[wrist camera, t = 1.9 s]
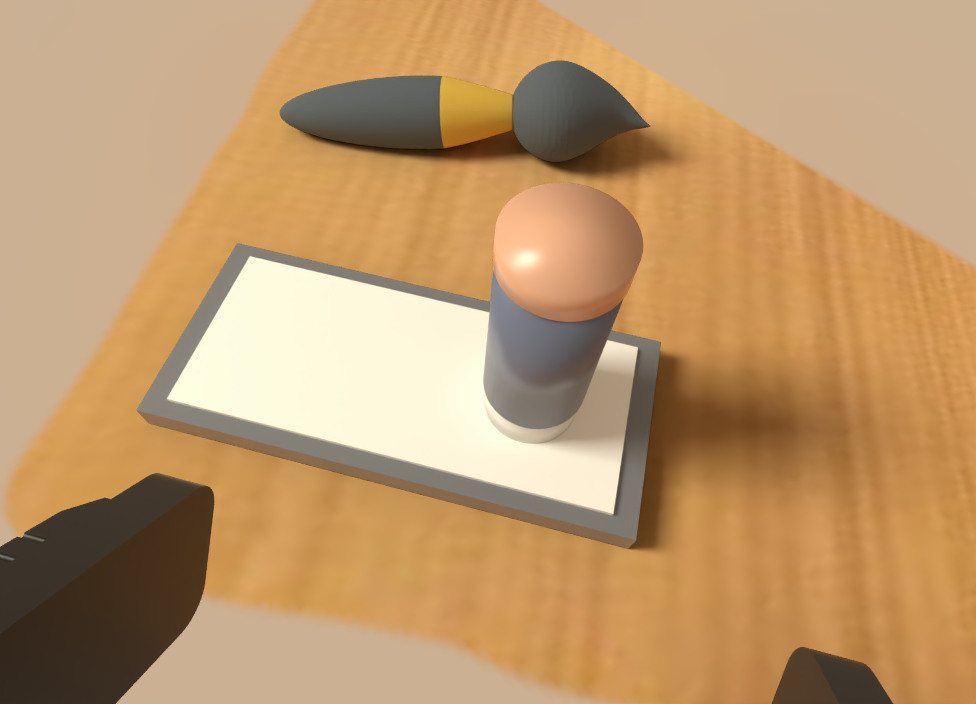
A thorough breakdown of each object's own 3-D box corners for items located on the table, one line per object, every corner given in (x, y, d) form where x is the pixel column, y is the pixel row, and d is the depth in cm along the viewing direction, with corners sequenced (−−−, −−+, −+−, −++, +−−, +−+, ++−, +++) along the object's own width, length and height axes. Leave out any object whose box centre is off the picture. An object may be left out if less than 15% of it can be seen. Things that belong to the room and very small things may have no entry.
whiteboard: (653, 356, 29) (662, 339, 28) (628, 548, 25) (637, 538, 23) (244, 259, 31) (236, 240, 30) (148, 423, 26) (134, 408, 25)
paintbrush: (276, 179, 34) (252, 98, 30) (287, 117, 37) (266, 35, 32) (640, 181, 36) (666, 104, 31) (625, 121, 38) (648, 43, 34)
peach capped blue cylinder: (587, 370, 27) (651, 199, 19) (570, 458, 25) (633, 311, 16) (493, 348, 27) (513, 170, 19) (468, 432, 25) (478, 275, 17)
